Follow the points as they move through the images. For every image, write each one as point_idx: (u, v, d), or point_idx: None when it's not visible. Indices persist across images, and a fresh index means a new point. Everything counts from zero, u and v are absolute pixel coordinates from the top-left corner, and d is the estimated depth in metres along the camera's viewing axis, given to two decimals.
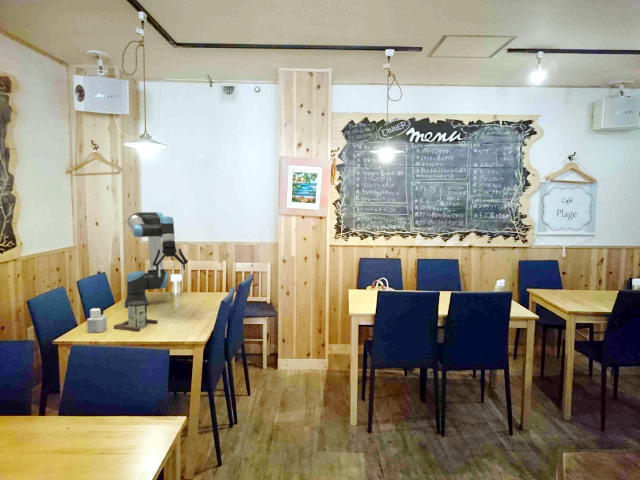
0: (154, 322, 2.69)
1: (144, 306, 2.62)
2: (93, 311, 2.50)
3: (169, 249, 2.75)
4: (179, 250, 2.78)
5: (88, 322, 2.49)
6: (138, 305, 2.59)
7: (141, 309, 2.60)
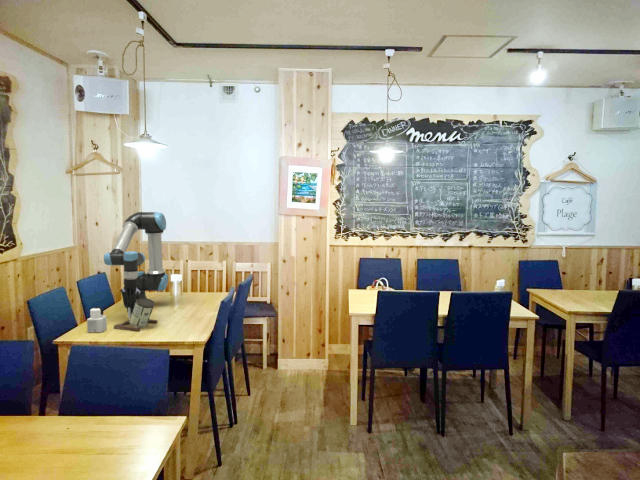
0: (154, 322, 2.69)
1: (151, 308, 2.60)
2: (93, 311, 2.50)
3: (129, 287, 2.62)
4: (136, 292, 2.61)
5: (88, 322, 2.49)
6: (146, 307, 2.57)
7: (147, 311, 2.59)
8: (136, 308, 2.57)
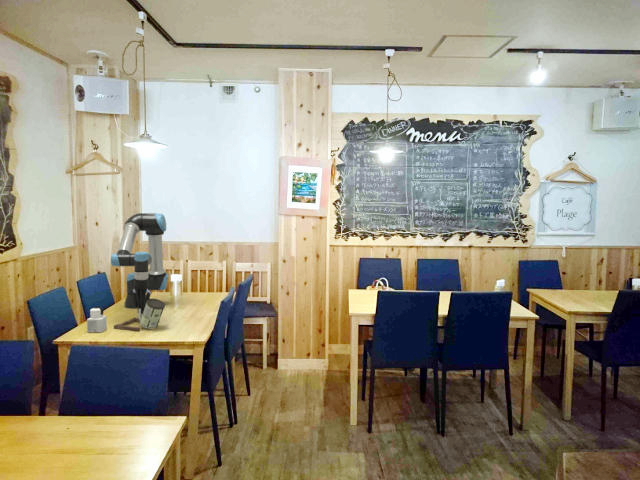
0: None
1: (161, 310, 2.58)
2: (93, 311, 2.50)
3: (139, 287, 2.60)
4: (147, 293, 2.58)
5: (88, 322, 2.49)
6: (156, 308, 2.55)
7: (158, 312, 2.56)
8: (146, 309, 2.55)
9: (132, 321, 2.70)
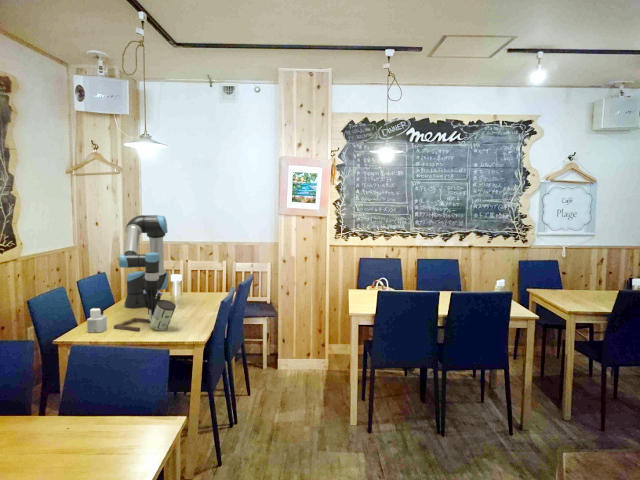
0: None
1: (172, 311, 2.56)
2: (93, 311, 2.50)
3: (150, 288, 2.58)
4: (158, 294, 2.57)
5: (88, 322, 2.49)
6: (167, 309, 2.53)
7: (168, 313, 2.54)
8: (157, 310, 2.53)
9: (132, 321, 2.70)
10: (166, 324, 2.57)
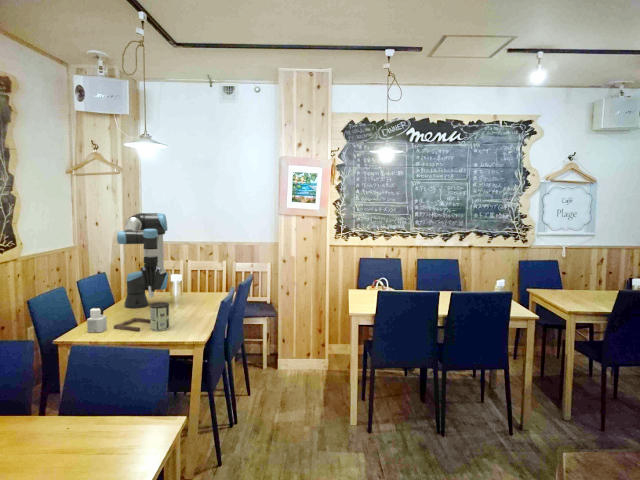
0: None
1: (166, 308, 2.57)
2: (93, 311, 2.50)
3: (149, 265, 2.56)
4: (156, 270, 2.55)
5: (88, 322, 2.49)
6: (159, 307, 2.55)
7: (162, 311, 2.56)
8: (151, 312, 2.56)
9: (132, 321, 2.70)
10: (165, 323, 2.57)
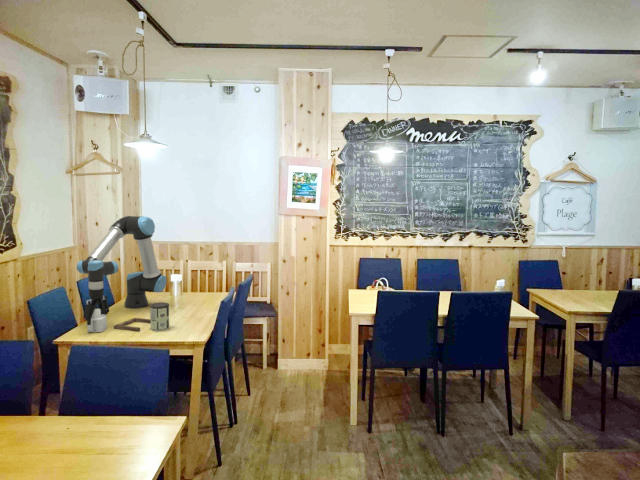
0: None
1: (166, 309, 2.57)
2: None
3: None
4: None
5: None
6: (160, 307, 2.54)
7: (163, 311, 2.56)
8: (151, 312, 2.55)
9: (132, 321, 2.70)
10: (165, 323, 2.57)
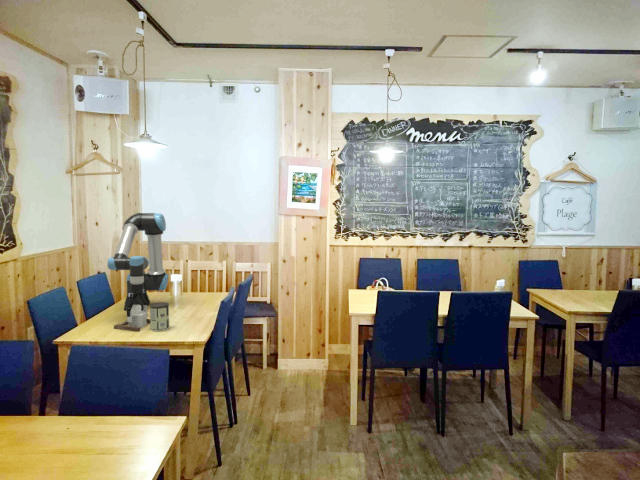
0: None
1: (166, 308, 2.57)
2: (134, 307, 2.60)
3: None
4: None
5: None
6: (159, 307, 2.54)
7: (163, 311, 2.56)
8: (151, 312, 2.55)
9: None
10: (165, 323, 2.57)
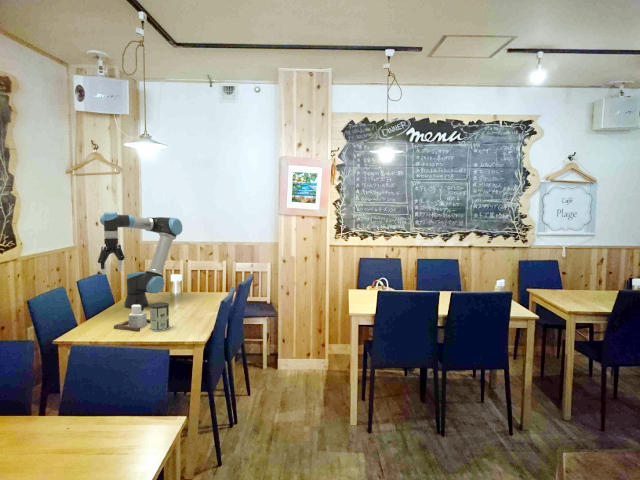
0: None
1: (166, 308, 2.57)
2: (134, 307, 2.60)
3: None
4: None
5: (129, 317, 2.60)
6: (160, 307, 2.55)
7: (163, 311, 2.56)
8: (151, 312, 2.55)
9: None
10: (165, 323, 2.57)
